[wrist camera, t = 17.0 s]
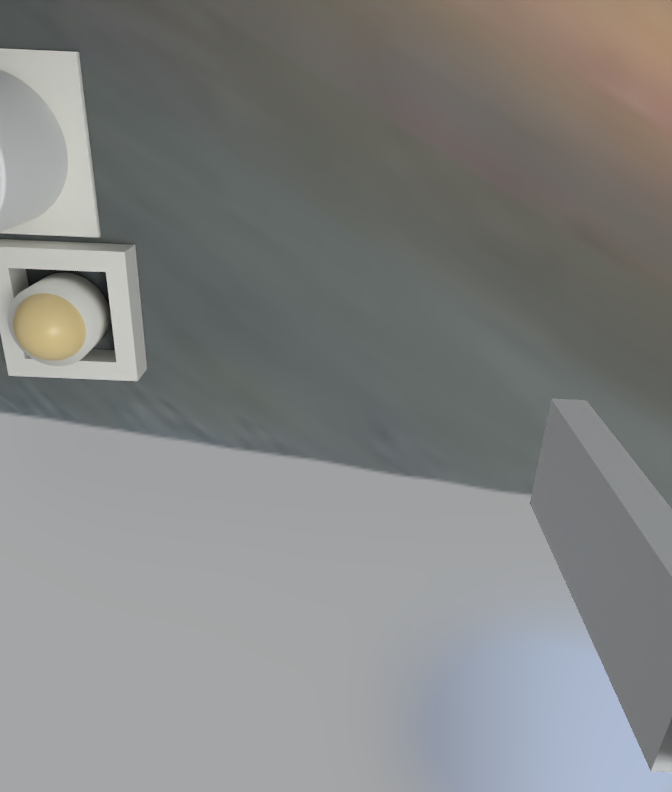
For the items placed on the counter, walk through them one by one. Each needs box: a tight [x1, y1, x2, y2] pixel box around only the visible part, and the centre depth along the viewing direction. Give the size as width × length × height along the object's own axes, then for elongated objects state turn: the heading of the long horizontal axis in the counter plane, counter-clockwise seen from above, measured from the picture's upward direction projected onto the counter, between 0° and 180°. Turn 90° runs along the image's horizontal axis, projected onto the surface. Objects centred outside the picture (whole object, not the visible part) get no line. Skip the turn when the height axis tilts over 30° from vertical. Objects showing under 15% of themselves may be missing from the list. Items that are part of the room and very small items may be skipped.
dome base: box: [0, 239, 147, 381], centre depth 48 cm, size 10×10×2 cm
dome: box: [8, 273, 110, 366], centre depth 45 cm, size 6×6×6 cm
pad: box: [0, 49, 101, 237], centre depth 44 cm, size 12×12×1 cm
